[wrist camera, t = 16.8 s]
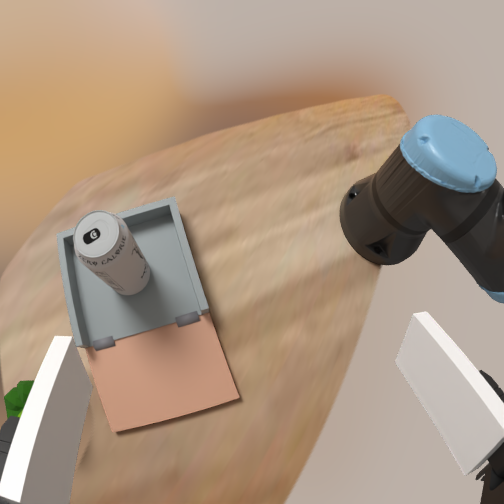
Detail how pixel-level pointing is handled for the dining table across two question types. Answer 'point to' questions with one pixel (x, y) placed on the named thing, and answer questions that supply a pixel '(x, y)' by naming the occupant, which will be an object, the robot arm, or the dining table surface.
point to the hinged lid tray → (148, 327)
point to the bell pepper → (17, 398)
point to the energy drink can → (111, 252)
